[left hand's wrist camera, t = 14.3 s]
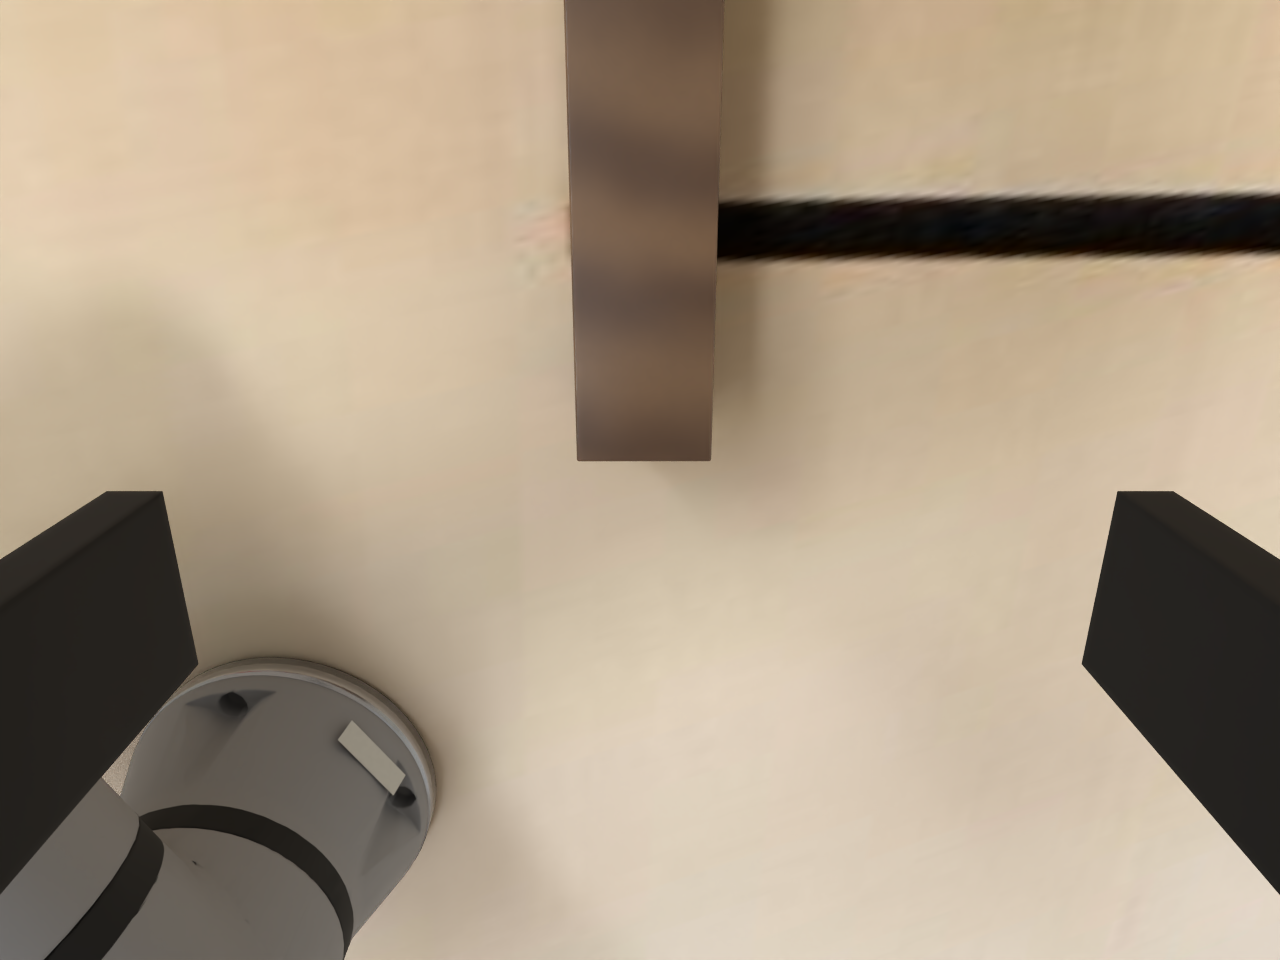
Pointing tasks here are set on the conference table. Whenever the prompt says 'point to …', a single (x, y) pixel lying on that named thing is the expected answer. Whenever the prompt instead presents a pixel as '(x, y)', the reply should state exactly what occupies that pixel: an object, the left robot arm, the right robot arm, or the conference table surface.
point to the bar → (644, 223)
